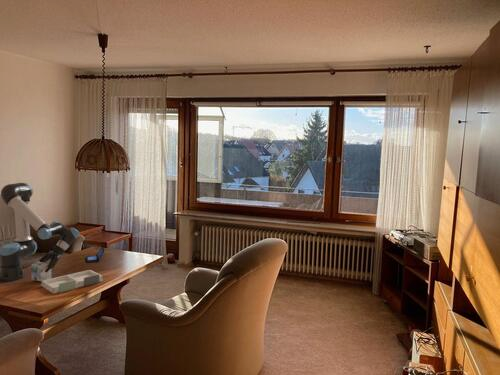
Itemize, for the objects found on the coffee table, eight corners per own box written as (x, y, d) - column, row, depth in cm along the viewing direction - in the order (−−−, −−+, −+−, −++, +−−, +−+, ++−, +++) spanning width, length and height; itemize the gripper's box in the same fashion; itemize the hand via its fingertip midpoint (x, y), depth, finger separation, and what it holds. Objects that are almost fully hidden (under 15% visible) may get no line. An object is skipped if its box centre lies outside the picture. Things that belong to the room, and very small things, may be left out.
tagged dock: (53, 294, 243) (53, 285, 242) (41, 285, 256) (41, 277, 255) (104, 281, 267) (103, 273, 266) (90, 274, 280) (90, 267, 280)
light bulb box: (31, 279, 262) (30, 264, 261) (38, 276, 269) (38, 261, 268) (44, 281, 260) (44, 266, 259) (51, 278, 266) (51, 263, 265)
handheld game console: (85, 257, 322) (85, 247, 321) (103, 256, 327) (103, 245, 326) (86, 263, 307) (86, 251, 306) (104, 261, 313) (104, 250, 312)
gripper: (72, 254, 266) (49, 281, 256) (57, 247, 282) (35, 272, 272) (64, 247, 261) (40, 275, 252) (49, 241, 278) (26, 266, 268)
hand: (37, 273), depth 262 cm, fingers closed on light bulb box, 12 cm apart
